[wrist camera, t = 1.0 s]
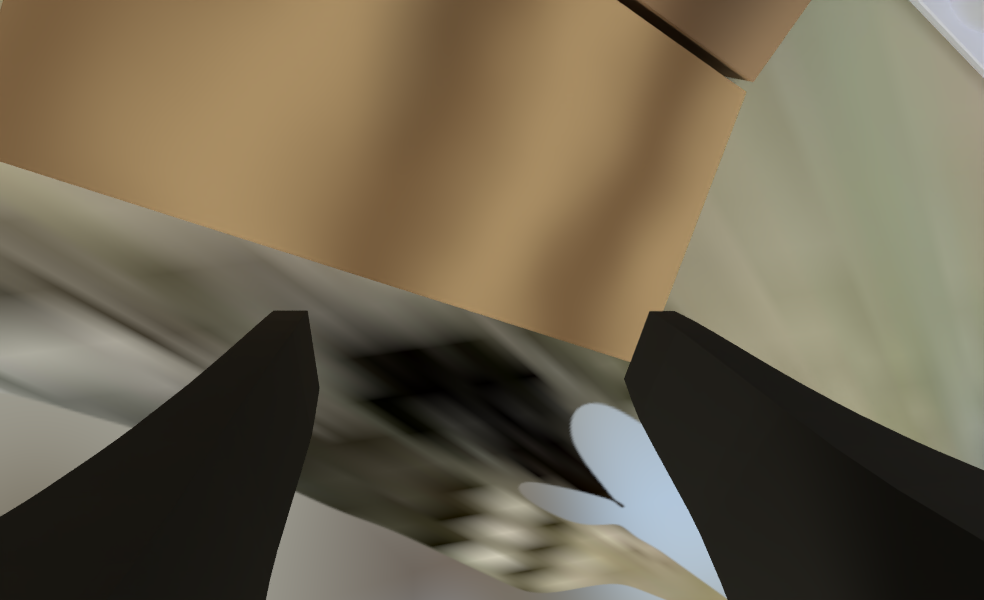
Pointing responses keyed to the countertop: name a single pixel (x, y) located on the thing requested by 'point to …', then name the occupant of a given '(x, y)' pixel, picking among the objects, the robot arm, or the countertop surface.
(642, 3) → the walnut plank
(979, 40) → the robot arm
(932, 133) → the countertop surface
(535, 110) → the oak plank
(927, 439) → the countertop surface
